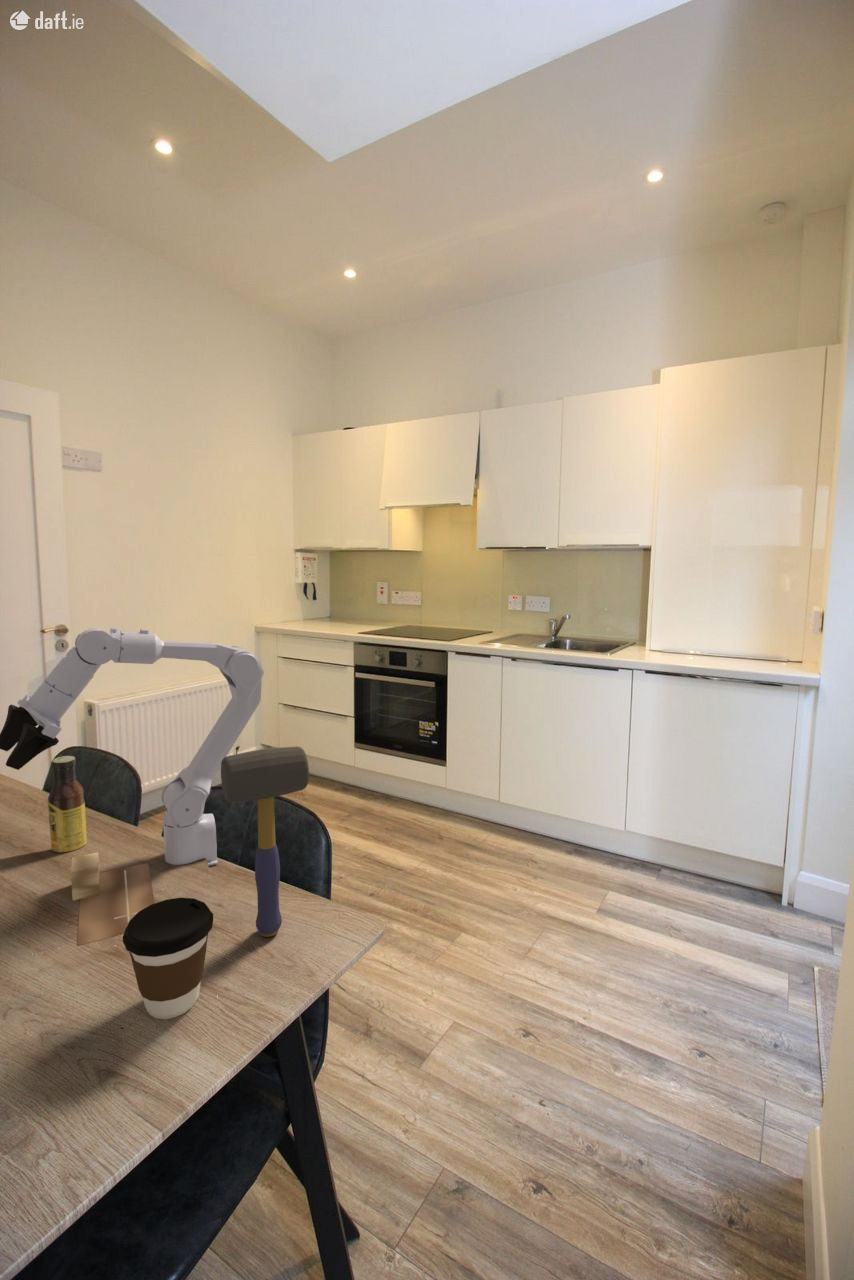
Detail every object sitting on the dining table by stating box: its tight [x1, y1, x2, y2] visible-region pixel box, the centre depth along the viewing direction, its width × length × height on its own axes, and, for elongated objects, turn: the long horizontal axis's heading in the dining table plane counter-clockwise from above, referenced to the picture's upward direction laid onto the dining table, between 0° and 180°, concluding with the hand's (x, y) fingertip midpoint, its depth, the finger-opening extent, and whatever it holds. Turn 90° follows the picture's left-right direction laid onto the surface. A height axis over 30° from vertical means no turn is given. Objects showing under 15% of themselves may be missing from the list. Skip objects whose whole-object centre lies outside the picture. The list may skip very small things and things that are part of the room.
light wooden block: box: [70, 851, 101, 902], centre depth 102 cm, size 4×6×6 cm, turn 29°
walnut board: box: [76, 862, 156, 947], centre depth 99 cm, size 11×22×2 cm, turn 29°
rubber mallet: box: [220, 746, 310, 938], centre depth 91 cm, size 12×8×30 cm, turn 119°
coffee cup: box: [122, 897, 214, 1020], centre depth 77 cm, size 11×11×12 cm
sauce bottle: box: [47, 755, 88, 853], centre depth 117 cm, size 6×6×20 cm
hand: (6, 757), depth 97 cm, fingers open, 7 cm apart
